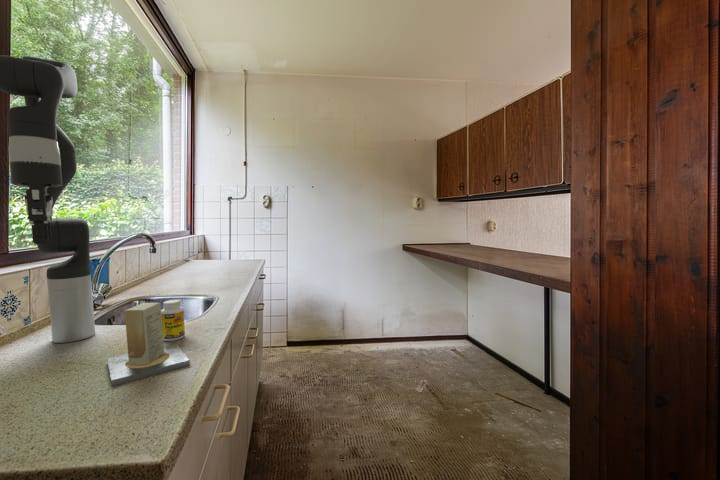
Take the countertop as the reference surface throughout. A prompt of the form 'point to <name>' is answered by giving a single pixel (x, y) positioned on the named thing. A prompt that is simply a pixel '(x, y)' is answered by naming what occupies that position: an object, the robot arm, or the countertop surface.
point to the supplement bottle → (172, 320)
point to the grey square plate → (165, 362)
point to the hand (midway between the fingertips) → (42, 242)
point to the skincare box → (144, 333)
